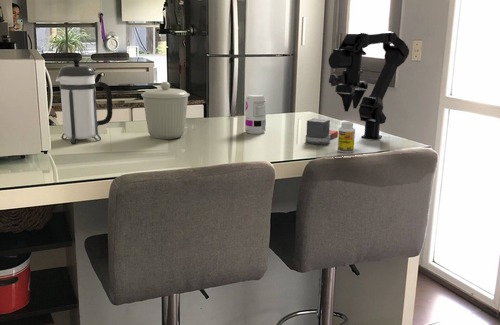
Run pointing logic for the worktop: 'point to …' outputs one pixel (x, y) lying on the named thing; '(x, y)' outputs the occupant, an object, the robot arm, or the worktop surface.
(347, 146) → the supplement bottle
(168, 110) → the canister
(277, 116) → the worktop surface
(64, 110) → the coffee press
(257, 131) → the supplement can
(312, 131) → the brushed grey cube
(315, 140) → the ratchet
